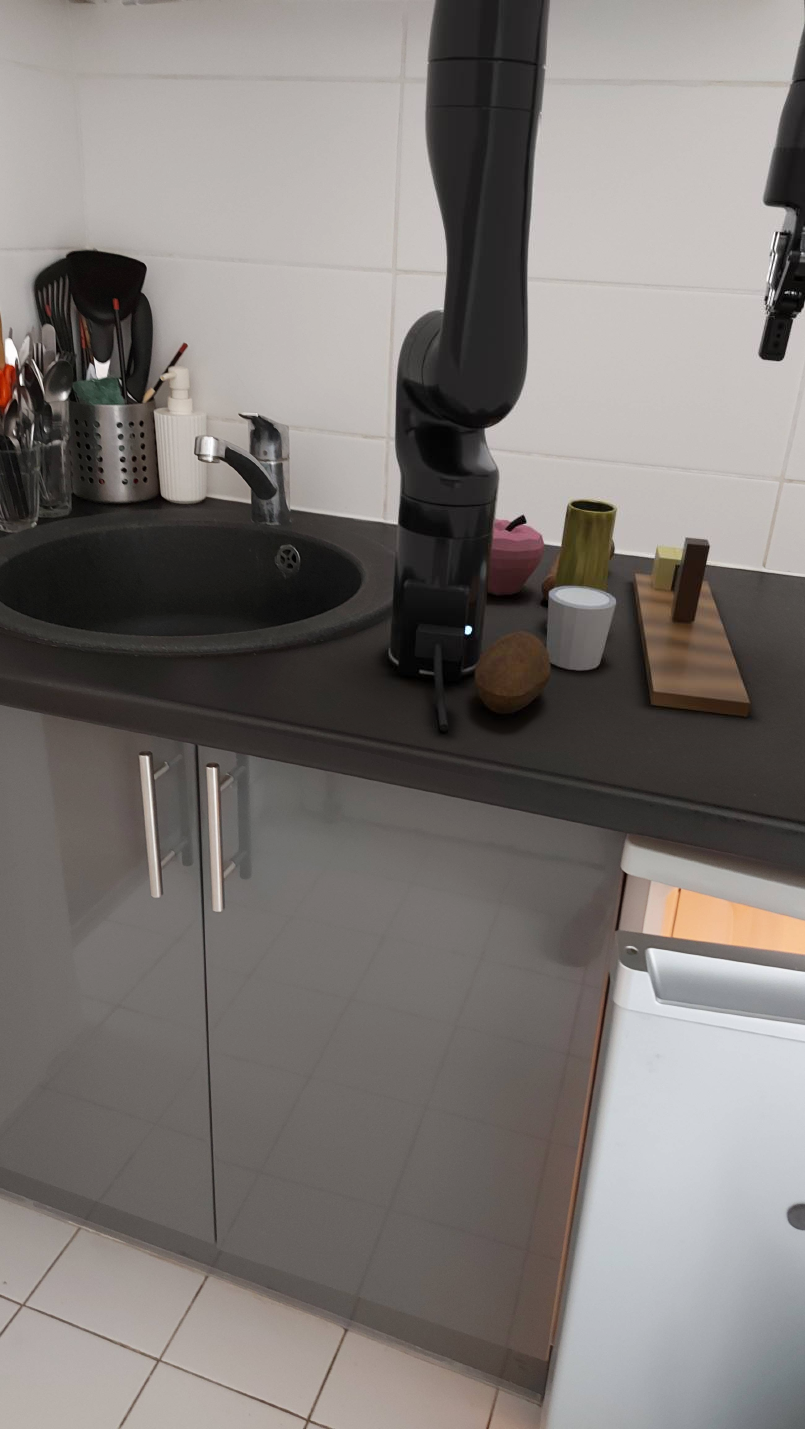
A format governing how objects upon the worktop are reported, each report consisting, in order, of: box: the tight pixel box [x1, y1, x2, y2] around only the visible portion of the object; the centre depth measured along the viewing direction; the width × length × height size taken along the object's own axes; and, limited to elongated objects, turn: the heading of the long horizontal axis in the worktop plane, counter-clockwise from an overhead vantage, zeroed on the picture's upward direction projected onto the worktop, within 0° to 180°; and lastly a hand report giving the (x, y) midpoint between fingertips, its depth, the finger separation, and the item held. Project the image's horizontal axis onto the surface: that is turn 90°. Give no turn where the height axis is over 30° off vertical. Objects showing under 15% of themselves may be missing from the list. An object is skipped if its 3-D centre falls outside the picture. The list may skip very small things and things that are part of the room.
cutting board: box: [632, 572, 751, 718], centre depth 112 cm, size 36×9×2 cm, turn 171°
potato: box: [474, 630, 552, 715], centre depth 93 cm, size 7×12×7 cm, turn 164°
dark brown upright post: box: [671, 536, 711, 622], centre depth 119 cm, size 18×2×9 cm, turn 171°
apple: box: [487, 514, 545, 597], centre depth 120 cm, size 10×9×10 cm
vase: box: [546, 498, 618, 629], centre depth 109 cm, size 6×6×14 cm
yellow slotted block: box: [650, 545, 684, 591], centre depth 124 cm, size 5×5×4 cm
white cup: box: [546, 586, 617, 671], centre depth 104 cm, size 7×7×7 cm
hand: (770, 359), depth 94 cm, fingers closed
